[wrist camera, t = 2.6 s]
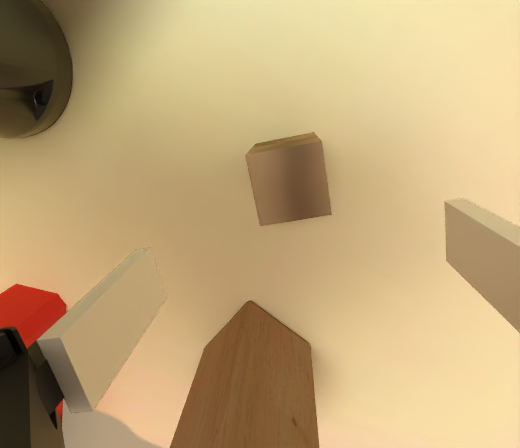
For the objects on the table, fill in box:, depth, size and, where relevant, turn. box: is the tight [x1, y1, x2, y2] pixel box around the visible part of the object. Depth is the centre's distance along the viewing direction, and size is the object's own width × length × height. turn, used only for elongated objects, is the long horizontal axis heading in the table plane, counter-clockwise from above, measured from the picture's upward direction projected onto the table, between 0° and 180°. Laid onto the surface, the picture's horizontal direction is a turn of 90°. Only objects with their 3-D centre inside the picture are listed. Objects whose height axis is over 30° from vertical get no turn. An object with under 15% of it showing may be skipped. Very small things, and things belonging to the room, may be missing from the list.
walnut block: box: [246, 133, 332, 226], centre depth 32 cm, size 6×6×9 cm
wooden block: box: [170, 301, 319, 448], centre depth 34 cm, size 10×10×20 cm
